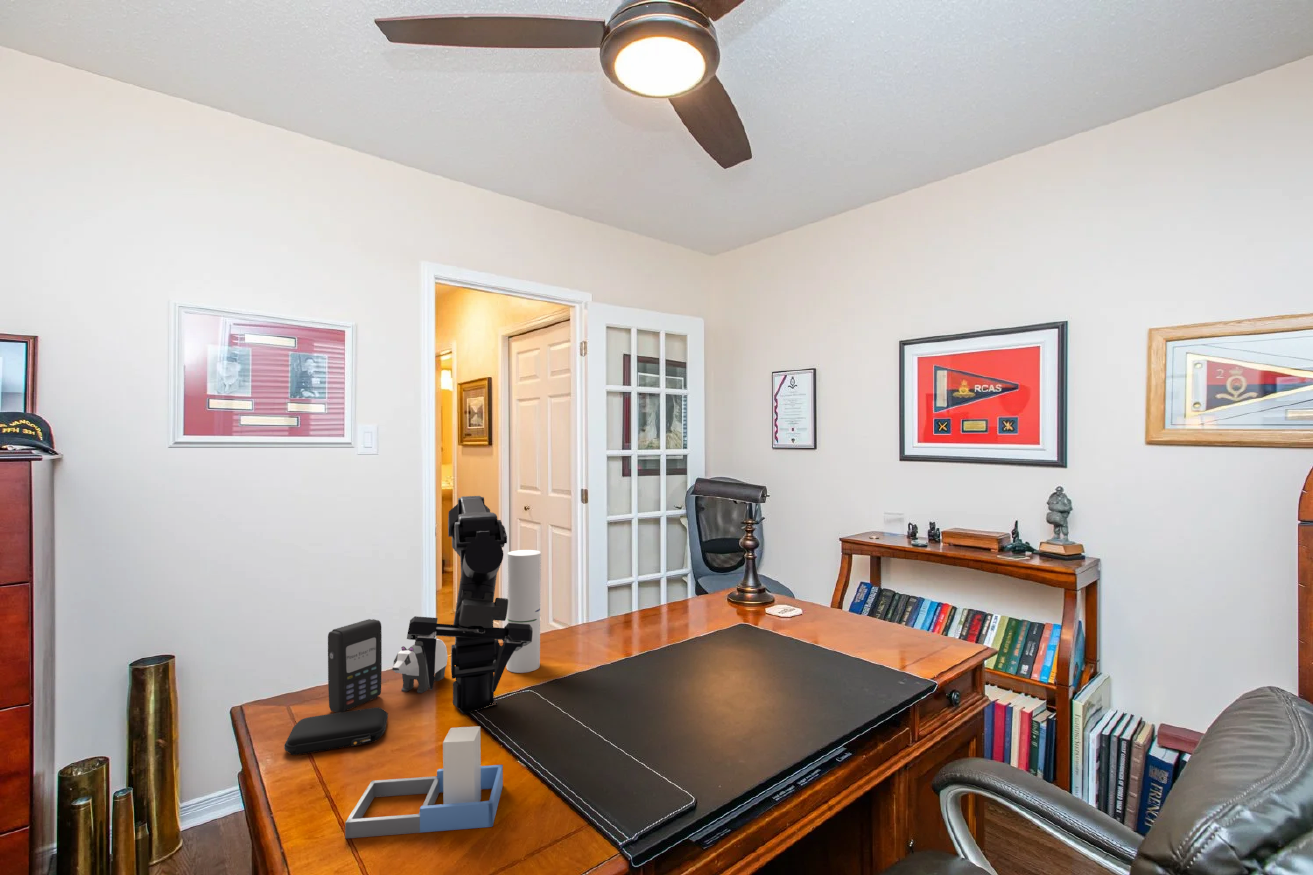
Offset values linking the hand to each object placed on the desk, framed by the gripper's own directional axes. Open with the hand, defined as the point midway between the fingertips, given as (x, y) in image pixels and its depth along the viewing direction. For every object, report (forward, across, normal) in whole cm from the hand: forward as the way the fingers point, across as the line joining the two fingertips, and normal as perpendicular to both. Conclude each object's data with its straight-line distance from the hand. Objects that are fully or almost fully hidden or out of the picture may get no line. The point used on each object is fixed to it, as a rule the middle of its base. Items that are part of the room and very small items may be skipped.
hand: (462, 690), depth 91 cm
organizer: (+15, -2, -4) cm, 16 cm away
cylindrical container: (-7, +16, +38) cm, 42 cm away
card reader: (+1, -16, +33) cm, 37 cm away
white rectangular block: (+15, +2, -5) cm, 16 cm away
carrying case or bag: (+7, -17, +21) cm, 28 cm away
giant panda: (-3, -5, +36) cm, 37 cm away
